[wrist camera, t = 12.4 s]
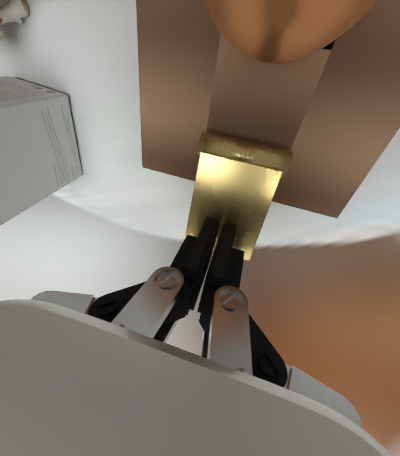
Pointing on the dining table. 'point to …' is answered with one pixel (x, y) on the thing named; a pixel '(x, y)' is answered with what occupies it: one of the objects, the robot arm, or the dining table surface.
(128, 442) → the robot arm
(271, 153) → the plate
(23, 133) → the skincare box
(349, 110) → the block
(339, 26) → the orange-brown domed cylinder
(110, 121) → the dining table surface
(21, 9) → the bull figurine
